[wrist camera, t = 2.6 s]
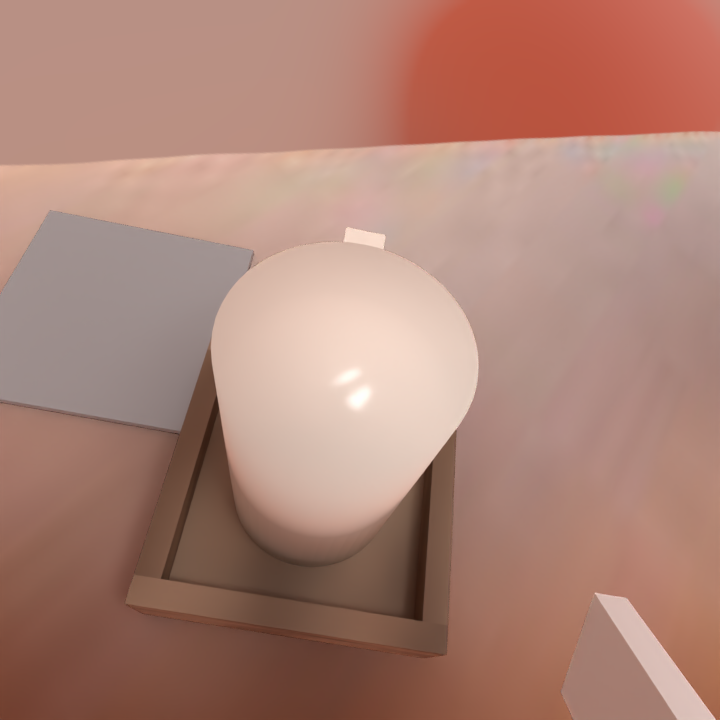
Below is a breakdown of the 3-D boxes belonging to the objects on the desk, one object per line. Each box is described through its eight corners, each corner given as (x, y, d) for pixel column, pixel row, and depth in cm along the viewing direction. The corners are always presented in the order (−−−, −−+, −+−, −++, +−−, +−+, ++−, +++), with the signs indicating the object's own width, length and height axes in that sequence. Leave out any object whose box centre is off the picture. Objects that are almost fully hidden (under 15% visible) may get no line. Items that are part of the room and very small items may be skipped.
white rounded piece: (402, 383, 28) (482, 209, 18) (381, 580, 23) (475, 497, 13) (265, 357, 27) (267, 163, 17) (214, 551, 23) (173, 442, 12)
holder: (439, 408, 30) (458, 378, 27) (424, 658, 24) (446, 654, 21) (218, 367, 29) (212, 331, 26) (143, 613, 23) (124, 603, 20)
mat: (253, 254, 33) (253, 250, 33) (197, 437, 27) (196, 433, 27) (52, 215, 33) (50, 210, 32) (-53, 392, 26) (-57, 389, 26)
